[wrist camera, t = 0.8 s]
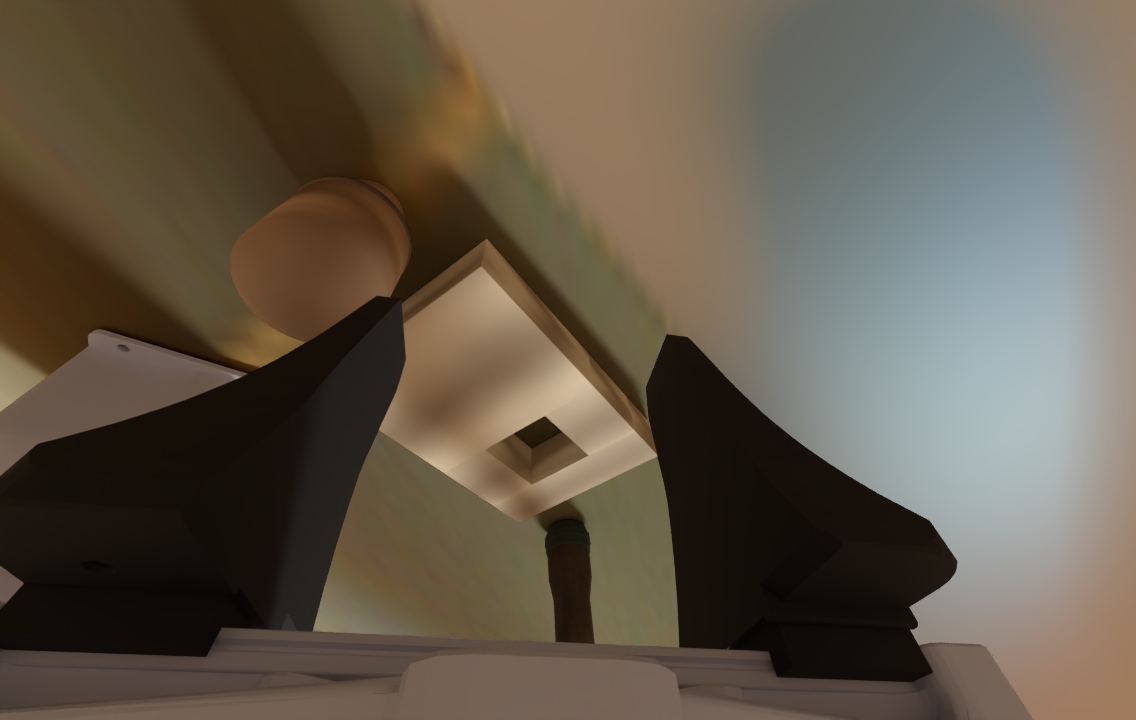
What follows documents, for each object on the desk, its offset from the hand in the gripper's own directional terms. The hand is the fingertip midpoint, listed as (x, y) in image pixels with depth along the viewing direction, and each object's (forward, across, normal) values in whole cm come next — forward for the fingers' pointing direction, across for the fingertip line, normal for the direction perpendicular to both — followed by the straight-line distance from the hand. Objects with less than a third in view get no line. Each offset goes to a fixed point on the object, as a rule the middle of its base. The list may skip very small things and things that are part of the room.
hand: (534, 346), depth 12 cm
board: (+10, +1, +11) cm, 15 cm away
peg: (+10, +8, +2) cm, 13 cm away
